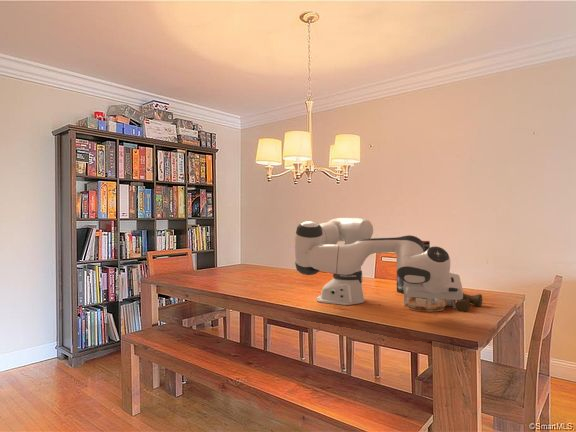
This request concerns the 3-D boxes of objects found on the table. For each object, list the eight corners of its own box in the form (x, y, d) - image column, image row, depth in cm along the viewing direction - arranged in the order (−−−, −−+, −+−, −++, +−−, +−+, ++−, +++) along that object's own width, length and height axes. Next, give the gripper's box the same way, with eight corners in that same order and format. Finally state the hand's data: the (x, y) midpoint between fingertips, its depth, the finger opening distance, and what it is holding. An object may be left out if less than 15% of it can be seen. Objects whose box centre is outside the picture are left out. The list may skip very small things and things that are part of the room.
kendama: (449, 311, 156) (461, 300, 172) (474, 315, 150) (484, 304, 166) (449, 297, 156) (461, 288, 171) (474, 301, 150) (484, 291, 165)
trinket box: (451, 310, 155) (451, 291, 155) (424, 315, 149) (424, 295, 149) (427, 303, 168) (427, 286, 168) (401, 307, 161) (401, 289, 161)
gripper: (405, 286, 138) (405, 306, 147) (465, 289, 132) (461, 310, 141) (405, 272, 142) (405, 293, 152) (463, 275, 136) (459, 296, 146)
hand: (432, 301), depth 146 cm, fingers closed
